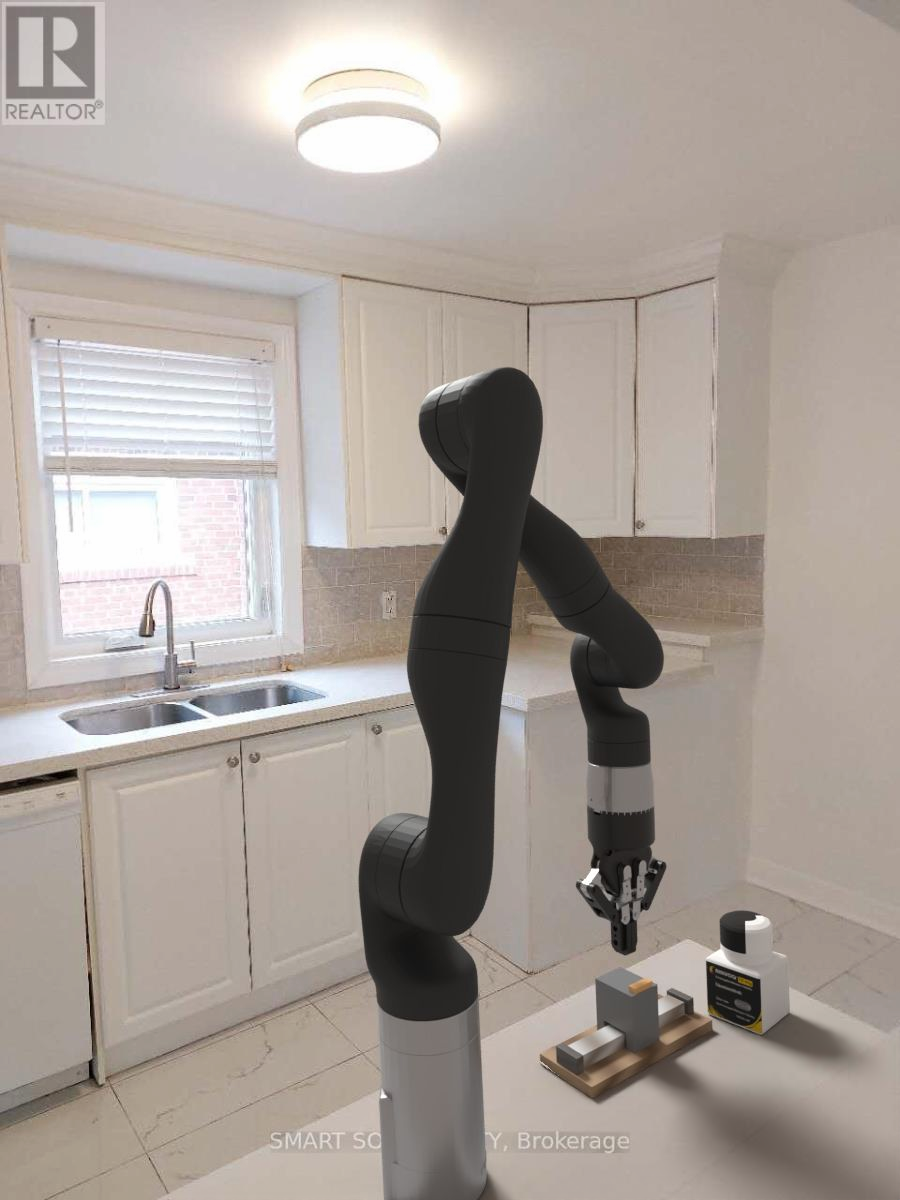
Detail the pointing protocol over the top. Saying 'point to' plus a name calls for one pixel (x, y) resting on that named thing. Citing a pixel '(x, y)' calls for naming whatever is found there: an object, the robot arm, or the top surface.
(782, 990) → the medicine bottle
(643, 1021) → the block
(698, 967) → the top surface
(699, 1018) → the rail board
